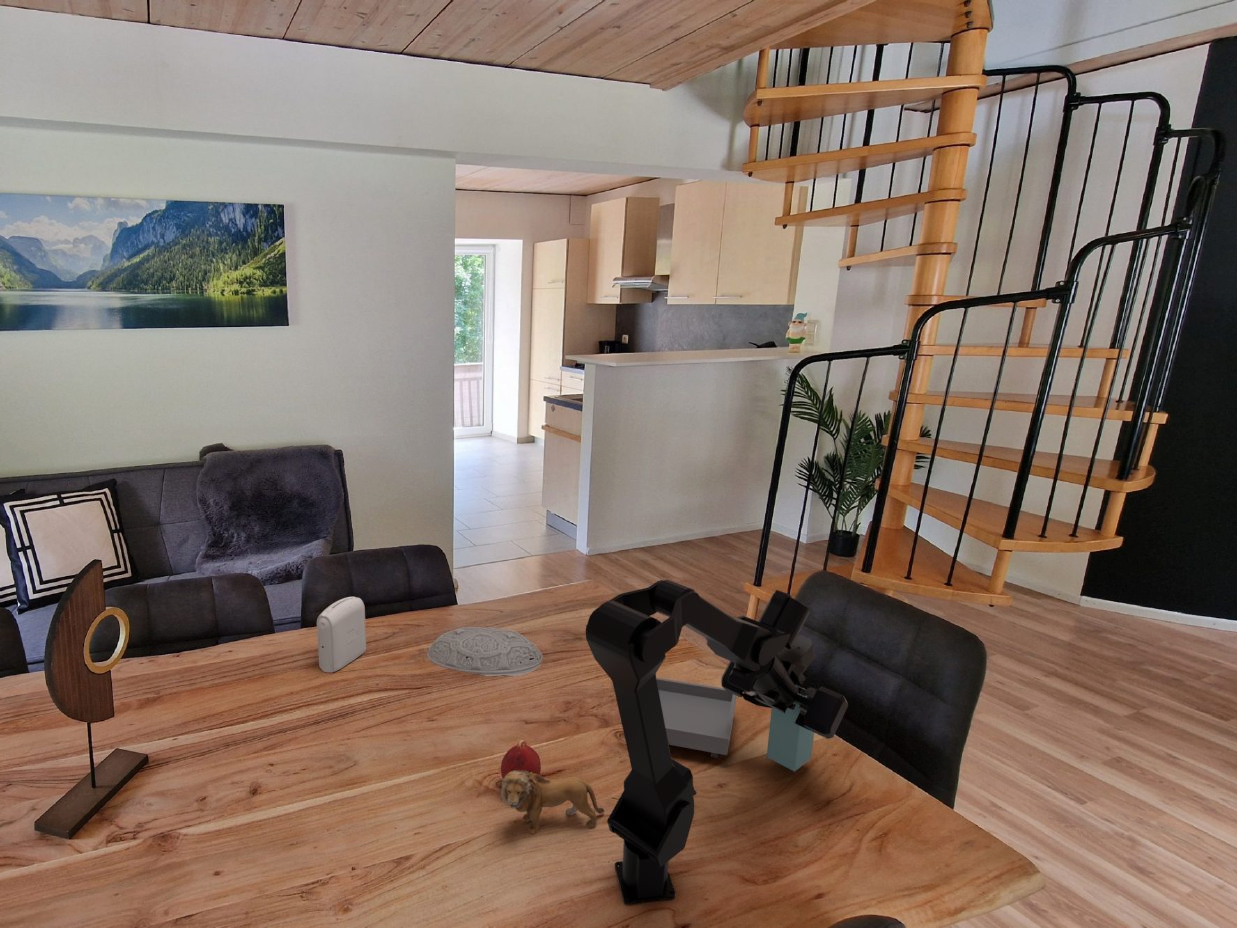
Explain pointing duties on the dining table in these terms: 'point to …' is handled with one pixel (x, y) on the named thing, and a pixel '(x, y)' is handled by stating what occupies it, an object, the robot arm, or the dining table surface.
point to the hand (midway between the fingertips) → (798, 713)
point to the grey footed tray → (697, 715)
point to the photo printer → (341, 634)
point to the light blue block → (789, 739)
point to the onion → (520, 759)
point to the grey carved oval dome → (485, 651)
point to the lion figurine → (546, 796)
